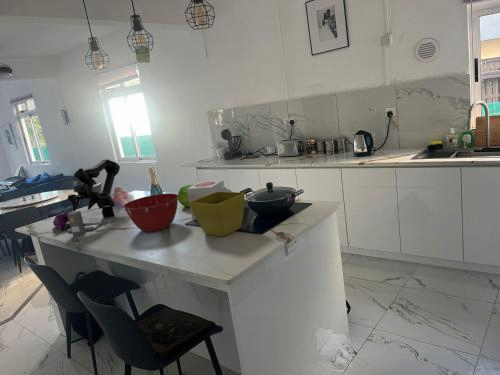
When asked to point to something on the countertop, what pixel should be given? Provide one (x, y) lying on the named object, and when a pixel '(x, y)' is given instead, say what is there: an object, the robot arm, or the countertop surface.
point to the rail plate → (89, 226)
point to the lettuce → (184, 196)
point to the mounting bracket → (61, 220)
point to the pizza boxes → (204, 191)
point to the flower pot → (219, 212)
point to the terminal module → (76, 223)
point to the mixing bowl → (153, 211)
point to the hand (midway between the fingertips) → (81, 210)
